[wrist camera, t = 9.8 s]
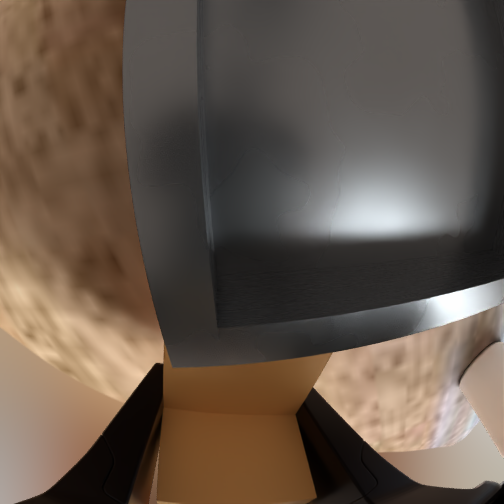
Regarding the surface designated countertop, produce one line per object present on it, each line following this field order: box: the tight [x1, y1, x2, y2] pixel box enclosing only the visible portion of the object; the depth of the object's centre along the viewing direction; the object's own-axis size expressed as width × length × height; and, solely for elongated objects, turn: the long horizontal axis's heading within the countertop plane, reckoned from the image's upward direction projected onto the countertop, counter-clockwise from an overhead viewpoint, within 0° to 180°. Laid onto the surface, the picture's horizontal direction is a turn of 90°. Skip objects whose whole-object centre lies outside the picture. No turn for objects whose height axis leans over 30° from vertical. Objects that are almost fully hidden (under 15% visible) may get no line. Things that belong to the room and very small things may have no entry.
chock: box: [157, 343, 333, 504], centre depth 7 cm, size 6×4×6 cm, turn 167°
